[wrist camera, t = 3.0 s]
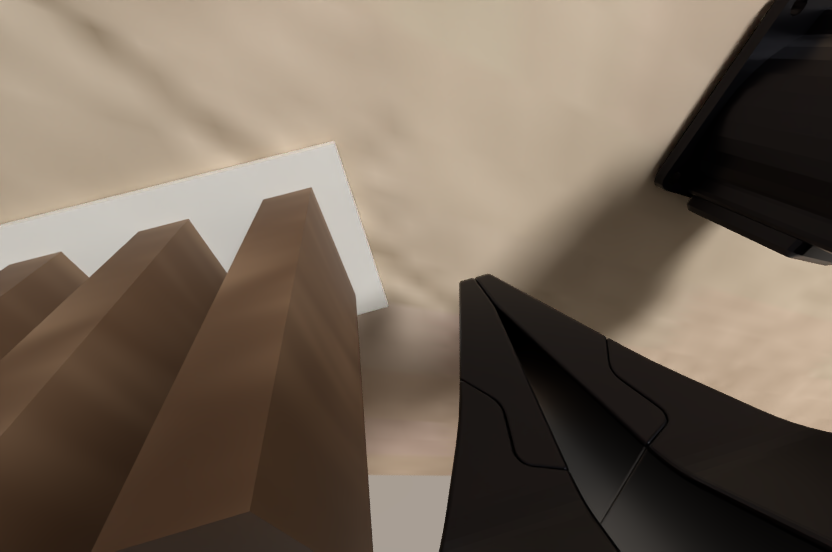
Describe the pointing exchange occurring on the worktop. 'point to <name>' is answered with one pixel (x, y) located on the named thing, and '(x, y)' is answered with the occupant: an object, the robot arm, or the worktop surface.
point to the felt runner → (206, 216)
